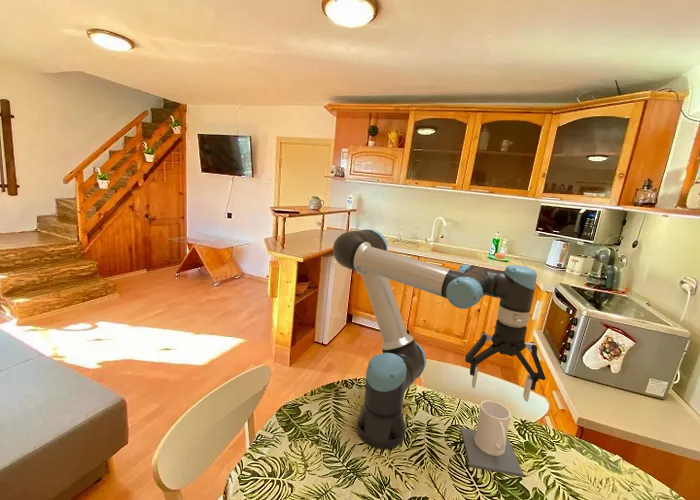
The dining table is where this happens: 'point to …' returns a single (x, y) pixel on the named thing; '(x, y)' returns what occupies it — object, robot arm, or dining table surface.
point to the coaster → (490, 456)
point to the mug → (492, 428)
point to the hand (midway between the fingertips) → (498, 391)
